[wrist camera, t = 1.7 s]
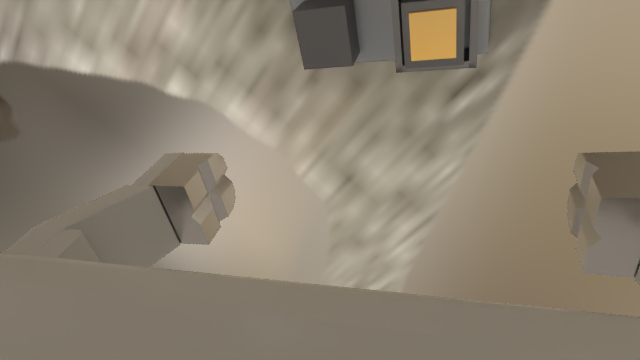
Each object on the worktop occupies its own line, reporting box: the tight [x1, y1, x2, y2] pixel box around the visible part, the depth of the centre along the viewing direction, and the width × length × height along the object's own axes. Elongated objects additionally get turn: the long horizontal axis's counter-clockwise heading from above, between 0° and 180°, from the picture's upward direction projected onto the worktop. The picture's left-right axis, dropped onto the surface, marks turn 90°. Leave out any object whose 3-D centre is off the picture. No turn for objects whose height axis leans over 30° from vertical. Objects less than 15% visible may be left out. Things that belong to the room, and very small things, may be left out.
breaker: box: [401, 0, 465, 69], centre depth 23 cm, size 4×3×2 cm
